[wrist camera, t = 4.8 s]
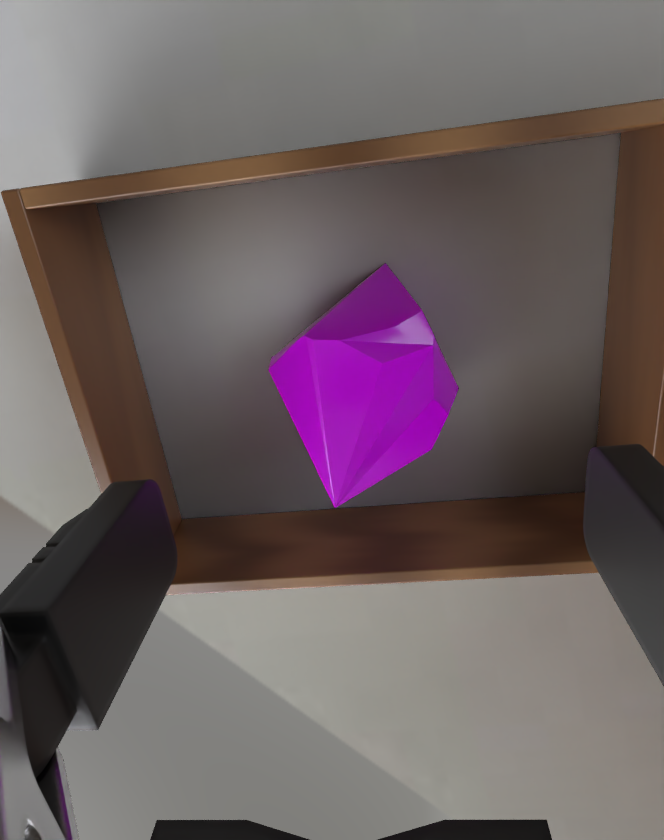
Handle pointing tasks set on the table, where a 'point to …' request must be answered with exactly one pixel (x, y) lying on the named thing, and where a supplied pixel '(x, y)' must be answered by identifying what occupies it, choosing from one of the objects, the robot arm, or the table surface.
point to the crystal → (365, 386)
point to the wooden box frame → (360, 526)
